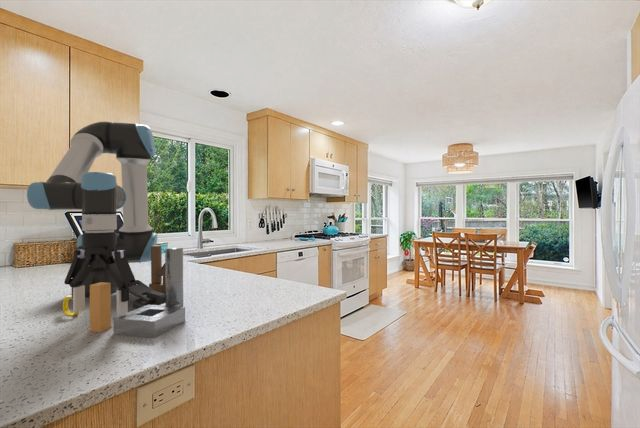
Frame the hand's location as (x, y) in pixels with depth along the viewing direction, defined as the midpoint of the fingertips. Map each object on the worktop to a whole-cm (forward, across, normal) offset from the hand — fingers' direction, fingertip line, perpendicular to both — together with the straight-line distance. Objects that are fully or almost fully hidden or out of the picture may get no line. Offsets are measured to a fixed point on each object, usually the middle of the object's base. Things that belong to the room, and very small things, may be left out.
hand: (100, 312), depth 83 cm
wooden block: (+4, -9, +35) cm, 37 cm away
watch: (+4, -19, +8) cm, 21 cm away
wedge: (+4, 0, 0) cm, 5 cm away
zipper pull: (+5, -5, +21) cm, 22 cm away
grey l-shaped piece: (+4, +12, +7) cm, 15 cm away
